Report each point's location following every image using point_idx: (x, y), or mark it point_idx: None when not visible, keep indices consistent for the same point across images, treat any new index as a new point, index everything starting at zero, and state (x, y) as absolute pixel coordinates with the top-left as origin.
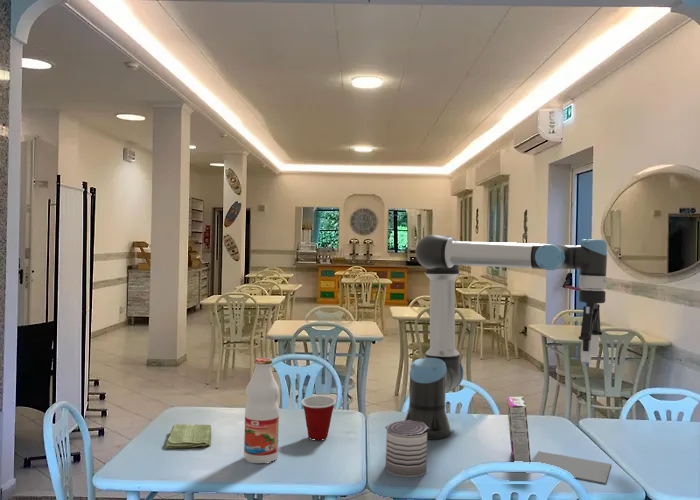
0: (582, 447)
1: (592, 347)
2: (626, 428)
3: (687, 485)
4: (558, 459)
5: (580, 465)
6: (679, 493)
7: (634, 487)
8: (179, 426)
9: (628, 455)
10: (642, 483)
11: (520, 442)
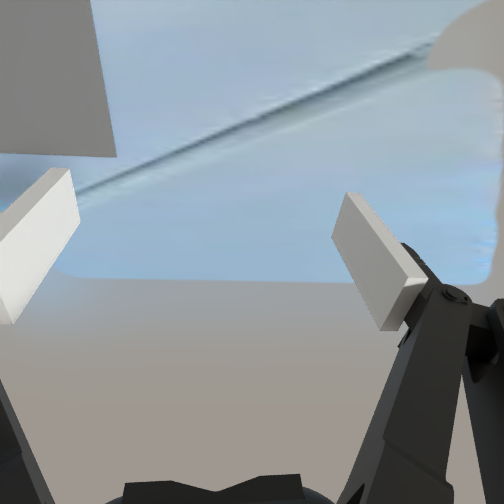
0: (214, 83)
1: (358, 235)
2: (421, 177)
3: (103, 270)
4: (48, 23)
5: (48, 89)
6: None
7: None
8: None
9: (212, 186)
10: None
11: None
